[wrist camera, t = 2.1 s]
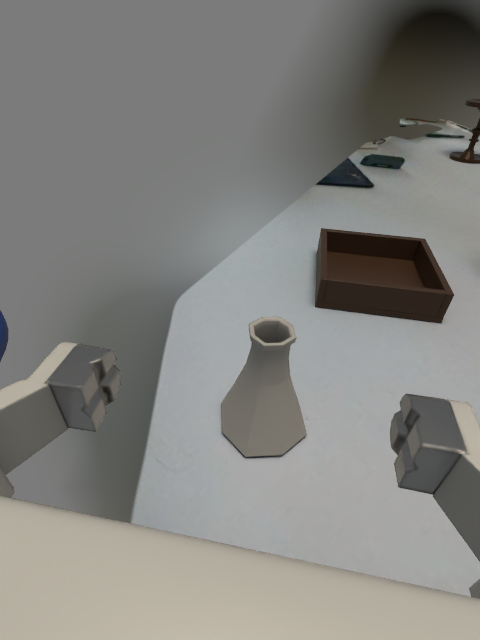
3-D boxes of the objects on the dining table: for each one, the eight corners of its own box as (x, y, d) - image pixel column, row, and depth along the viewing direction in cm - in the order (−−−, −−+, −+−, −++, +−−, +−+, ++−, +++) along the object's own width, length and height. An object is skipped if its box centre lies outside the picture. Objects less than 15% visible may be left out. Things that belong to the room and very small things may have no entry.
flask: (208, 401, 32) (204, 311, 26) (280, 379, 34) (292, 292, 28) (238, 473, 27) (243, 381, 21) (321, 442, 29) (348, 351, 23)
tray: (315, 306, 44) (320, 278, 42) (316, 252, 55) (321, 228, 53) (440, 323, 42) (454, 294, 40) (416, 263, 54) (425, 238, 51)
